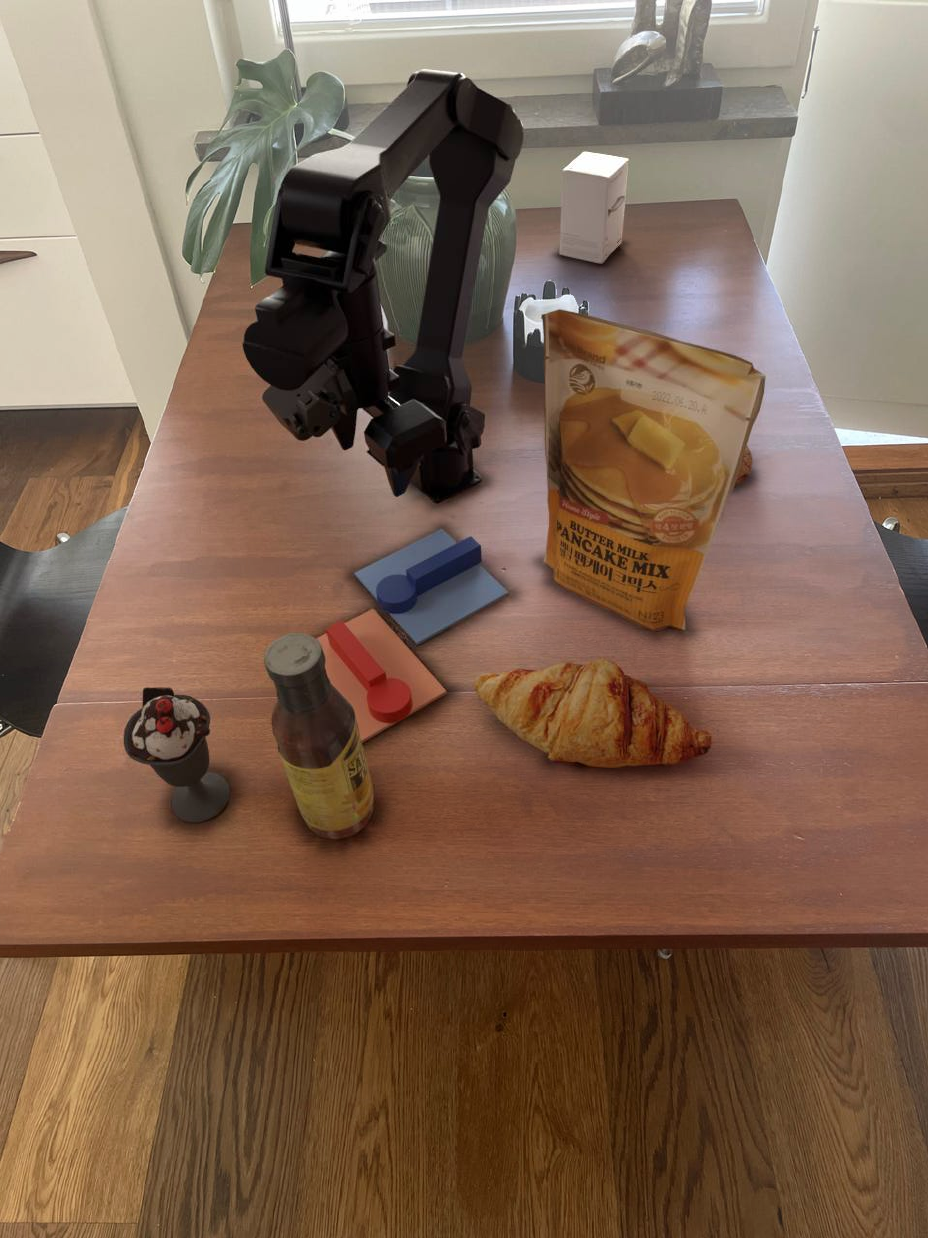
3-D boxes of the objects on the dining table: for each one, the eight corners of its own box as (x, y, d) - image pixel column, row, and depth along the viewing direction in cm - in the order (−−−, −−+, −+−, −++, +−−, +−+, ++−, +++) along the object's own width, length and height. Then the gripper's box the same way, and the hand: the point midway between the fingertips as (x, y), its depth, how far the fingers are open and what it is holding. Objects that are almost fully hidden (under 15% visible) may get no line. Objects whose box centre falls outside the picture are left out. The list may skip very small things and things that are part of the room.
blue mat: (442, 530, 99) (441, 528, 99) (508, 594, 93) (508, 592, 92) (354, 575, 96) (354, 572, 95) (417, 645, 89) (417, 643, 88)
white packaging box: (602, 265, 136) (608, 177, 127) (557, 255, 139) (560, 168, 130) (623, 243, 140) (630, 157, 131) (579, 234, 143) (583, 149, 134)
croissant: (467, 741, 85) (446, 729, 78) (496, 638, 87) (478, 616, 80) (698, 804, 79) (699, 797, 72) (724, 692, 81) (727, 673, 73)
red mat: (373, 610, 92) (373, 608, 92) (446, 693, 85) (446, 690, 84) (285, 657, 89) (284, 655, 88) (353, 748, 81) (352, 745, 81)
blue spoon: (465, 546, 97) (464, 529, 95) (488, 567, 95) (487, 551, 93) (370, 596, 93) (367, 580, 91) (391, 620, 91) (388, 603, 89)
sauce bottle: (381, 834, 75) (345, 685, 61) (306, 850, 75) (251, 704, 60) (370, 768, 80) (334, 614, 65) (298, 783, 79) (245, 631, 64)
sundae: (224, 838, 76) (172, 733, 65) (149, 825, 77) (85, 720, 66) (252, 770, 80) (207, 661, 69) (180, 759, 81) (125, 650, 70)
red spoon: (319, 650, 89) (315, 633, 87) (355, 630, 90) (351, 614, 88) (383, 731, 82) (380, 715, 80) (421, 709, 83) (418, 692, 81)
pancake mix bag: (556, 533, 98) (564, 288, 78) (718, 609, 90) (776, 357, 69) (519, 570, 95) (517, 324, 74) (684, 652, 87) (734, 401, 66)
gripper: (213, 315, 80) (253, 458, 91) (324, 412, 69) (354, 560, 81) (323, 271, 84) (348, 414, 95) (444, 357, 73) (455, 505, 85)
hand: (372, 470), depth 89 cm, fingers open, 9 cm apart
